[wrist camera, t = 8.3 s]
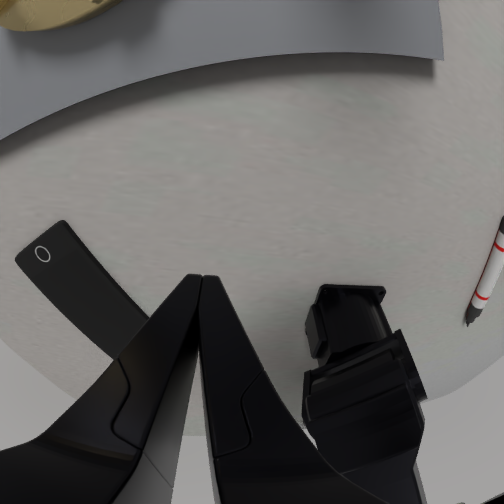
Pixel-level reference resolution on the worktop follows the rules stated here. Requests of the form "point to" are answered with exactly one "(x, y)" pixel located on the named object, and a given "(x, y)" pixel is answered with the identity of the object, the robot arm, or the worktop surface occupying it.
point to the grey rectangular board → (195, 44)
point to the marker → (488, 277)
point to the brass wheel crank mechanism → (49, 13)
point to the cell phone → (81, 288)
